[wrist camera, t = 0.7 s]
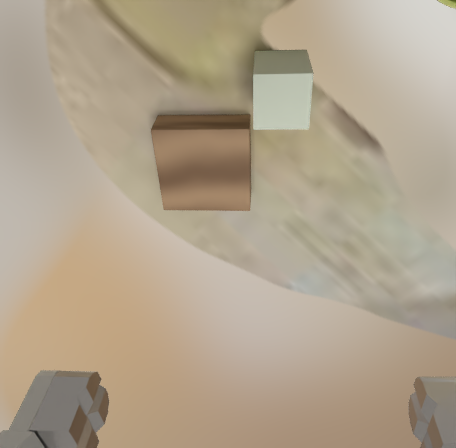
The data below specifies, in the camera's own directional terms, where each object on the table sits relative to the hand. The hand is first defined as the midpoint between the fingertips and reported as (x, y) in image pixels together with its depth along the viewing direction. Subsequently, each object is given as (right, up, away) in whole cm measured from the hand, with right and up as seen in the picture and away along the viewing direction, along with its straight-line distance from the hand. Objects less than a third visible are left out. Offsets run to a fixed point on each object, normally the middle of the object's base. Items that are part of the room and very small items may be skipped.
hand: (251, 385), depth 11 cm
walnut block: (-3, +12, +38) cm, 40 cm away
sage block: (+5, +19, +31) cm, 37 cm away
